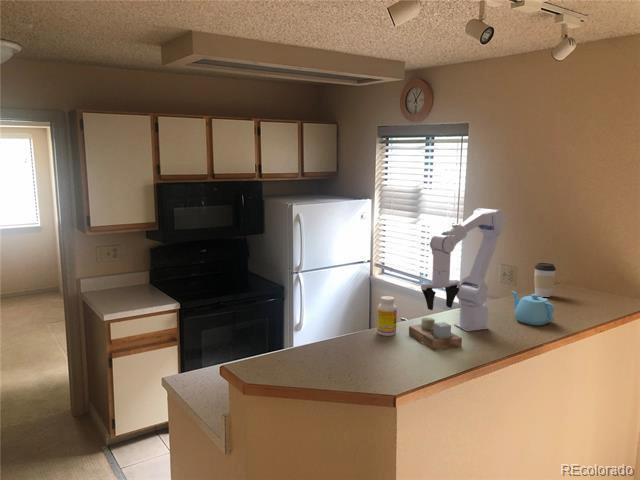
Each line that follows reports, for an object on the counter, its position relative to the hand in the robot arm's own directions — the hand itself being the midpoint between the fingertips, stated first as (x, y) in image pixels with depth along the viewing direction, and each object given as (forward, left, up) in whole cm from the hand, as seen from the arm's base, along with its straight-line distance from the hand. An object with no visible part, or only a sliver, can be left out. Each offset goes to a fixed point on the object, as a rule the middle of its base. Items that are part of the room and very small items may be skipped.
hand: (439, 308), depth 176 cm
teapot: (-43, -3, -10) cm, 44 cm away
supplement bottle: (+16, -8, -10) cm, 20 cm away
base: (+4, +4, -10) cm, 11 cm away
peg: (+4, +8, -10) cm, 13 cm away
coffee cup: (-76, -31, -10) cm, 83 cm away
